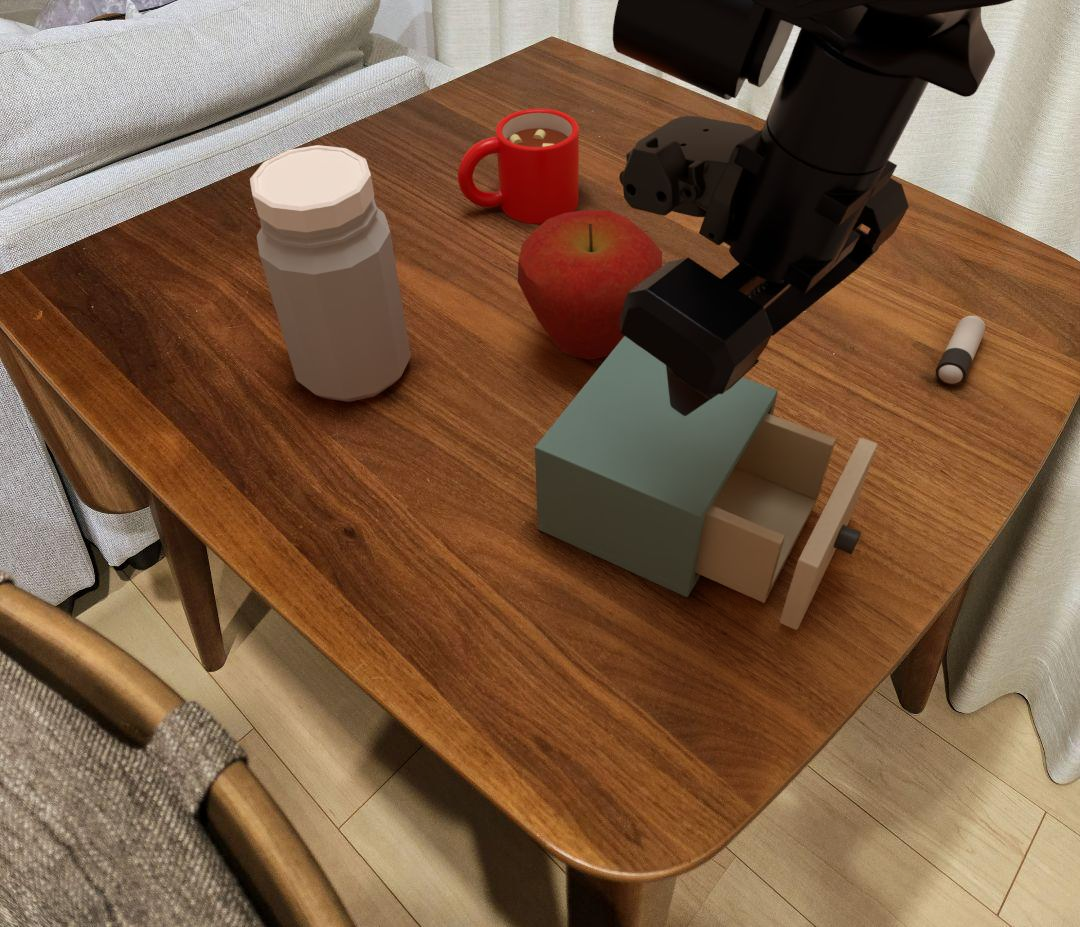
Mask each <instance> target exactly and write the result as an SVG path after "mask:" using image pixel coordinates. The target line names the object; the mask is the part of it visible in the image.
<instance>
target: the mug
mask: <svg viewBox="0 0 1080 927" xmlns="http://www.w3.org/2000/svg"><path fill="white" fill-rule="evenodd" d="M493 154H496V156H497V170H498V171H497V172H498V187H499V189H498V190H495V191H483V190H481V189H479V188H478V187H477V186H476V185H475V182H474V179H473V178H474V177H473V175H474V173H475V169H476V167H477V166H478V164H479V163H480V162H481V161H483V159H484V158H486V157H488V156H489V155H493ZM579 154H580V129H579V124H578V122H577V120H575V119H574V118H573V117H572V116H570V114H567V113H565V112H562V111H559V110H556V109H552V108H551V109H550V108H528V109H522V110H519V111H516V112H513V113H509V114H508V115H506V116H505V117H504V118H502V119H500V121H499V122H498V124H496V128H495V136H492V137H487V138H484V139H482V140H480V141H478V142H476V143H475V144H473V145H472V146H471V147H470V148H469V149H468V150H467V151H466V152H465V154H464V155H463V157H462V159H461V160H460V163H459V165H458V170H457V182H458V187H459V190H460V191H461V194H462V195H463V196H464V198H465V199H466V200H468V201H469V202H470V203H472V204H474V205H476V206H479V207H483V208H495V207H496V208H497V207H501V210H502V211H503V213H504V214H505V215H507V216H508V217H509V218H511V219H513V220H514V221H515V220H516V221H519V222H522V223H526V224H539V225H541V224H543V223H544V222H545V221H546V220H547V219H550V218H552V217H555V216H558V215H560V214H563V213H567V212H575V211H576V209H577V207H578V205H579V186H580V184H579V179H580V178H579V176H580V175H579V174H580V173H579V172H580V171H579V170H580V167H579V166H580V165H579V164H580V160H579V159H580V155H579Z"/></svg>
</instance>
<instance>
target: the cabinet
mask: <svg viewBox="0 0 1080 927" xmlns="http://www.w3.org/2000/svg"><path fill="white" fill-rule="evenodd" d="M778 393H779V390H778V389H776V388H773V387H770V386H768V385H765V384H762V383H759V382H756V381H754V380H751V379H749V378H745V377H742V378H741V379H740V380H739V381H738V382H737V383H736V384H735V385H734V386H733V387H731V388H730V389H729V390H727V391H725V392H724V393H723V394H718V395H717V396H715V397H714V398H712V399H711V400H709V401H708V402H706V403H705V404H703V405H702V406H700V407H699V408H697V409H696V410H694V411H693V412H692V413H690V414H689V415H687V416H683V415H682V414H680V413H679V412H677V411H676V410H675V409H673V408H672V407H671V405H670V398H669V389H668V380H667V370H666V365H665V364H664V363H662V362H661V361H659V360H658V359H657V358H655V357H654V356H652V355H651V354H650V353H648V352H647V351H645V350H644V349H642V348H641V347H640V346H638V345H637V344H635V343H634V342H633V341H631V340H630V339H628V338H627V337H625V336H624V337H623V339H622V340H621V341H620V342H619V343H618V345H617V346H616V347H615V348H614V350H613V351H612V352H611V353H610V355H609V356H608V357H605V359H604V361H603V362H602V363H601V365H599V367H598V368H597V370H596V371H595V372H594V373H593V374H592V376H591V377H590V378H589V379H588V380H587V381H586V382H585V384H584V385H583V387H582V388H581V389H580V390H579V391H578V392H577V394H576V395H575V397H574V398H573V399H572V400H571V402H570V403H569V404H568V405H567V407H566V408H565V409H564V410H563V412H562V413H561V414H560V415H559V416H558V418H557V419H556V420H555V421H554V423H553V424H552V425H551V426H550V428H549V429H548V430H547V431H546V433H545V434H544V435H543V436H542V437H541V439H540V440H539V441H538V443H537V444H535V446H534V464H535V488H536V489H535V490H536V491H535V492H536V493H535V494H536V512H537V513H536V516H537V530H538V531H540V532H543V533H544V534H547V535H550V536H552V537H553V538H556V539H558V540H560V541H562V542H564V543H567V544H569V545H571V546H573V547H575V548H578V549H580V550H582V551H584V552H586V553H589V554H591V555H593V556H595V557H597V558H599V559H602V560H604V561H606V562H609V563H610V564H613V565H615V566H617V567H619V568H621V569H624V570H626V571H629V572H630V573H633V574H635V575H636V576H639V577H641V578H643V579H646V580H648V581H650V582H652V583H654V584H657V585H659V586H661V587H663V588H665V589H667V590H670V591H672V592H674V593H676V594H679V595H680V596H683V597H685V598H688V597H689V596H690V594H691V593H692V591H693V589H694V587H695V586H696V584H697V582H698V581H699V579H700V577H701V575H700V574H698V573H695V570H696V564H697V558H698V553H699V547H700V541H701V535H702V529H703V523H704V517H705V515H706V513H707V512H708V510H709V508H710V507H711V505H712V504H713V502H714V500H715V499H716V497H717V495H718V494H719V492H720V490H721V489H722V487H723V485H724V484H725V482H726V480H727V479H728V477H729V476H730V474H731V472H732V471H733V469H734V467H735V466H736V464H737V462H738V461H739V459H740V457H741V456H742V454H743V452H744V451H745V449H746V448H747V446H748V444H749V443H750V441H751V439H752V438H753V436H754V434H755V433H756V431H757V429H758V428H759V426H760V424H761V423H762V421H763V420H764V418H765V416H766V415H767V413H768V414H771V415H773V416H774V411H775V407H776V402H777V398H778Z"/></svg>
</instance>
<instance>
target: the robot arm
mask: <svg viewBox="0 0 1080 927" xmlns="http://www.w3.org/2000/svg"><path fill="white" fill-rule="evenodd" d="M1012 1H1014V0H617V3H616V8H615V13H614V18H613V24H612V43H613V48H614V49H615V51H616V52H617V53H618V54H620V55H623V56H625V57H628V58H629V59H632V60H634V61H637V62H639V63H641V64H642V65H643V64H644V65H645V66H648V67H650V68H653V69H655V70H657V71H659V72H662V73H664V74H666V75H668V76H671V77H673V78H676V79H678V80H680V81H681V82H684V83H687V84H689V85H691V86H694V87H695V88H698V89H700V90H703V91H706V92H708V93H710V94H712V95H714V96H717V97H719V98H721V99H723V100H728V101H729V100H730V99H732V98H733V99H736V98H737V97H738V95H739V93H740V92H741V89H742V87H743V85H744V83H745V81H746V80H747V82H748V84H750V85H752V86H755V87H756V88H757V87H758V88H761V87H763V86H764V85H765V84H766V82H767V81H768V80H769V78H770V76H771V75H772V73H773V72H774V69H775V68H776V66H777V64H778V62H779V61H780V58H781V56H782V55H783V52H784V51H785V48H786V46H787V44H788V41H789V39H790V36H791V34H792V31H793V29H794V27H797V28H799V29H800V30H799V33H798V35H797V38H796V41H795V43H794V45H793V48H792V51H791V53H790V56H789V58H788V62H787V64H786V67H785V70H784V72H783V75H782V77H781V80H780V83H779V85H778V88H777V91H776V93H775V96H774V98H773V101H772V104H771V105H770V109H769V111H768V114H767V117H766V119H765V122H764V124H763V127H762V129H760V130H759V129H755V128H754V127H752V126H750V125H747V124H743V123H737V122H730V121H725V120H720V119H714V118H708V117H703V116H696V115H695V116H694V115H684V116H679V117H676V118H674V119H671V120H670V121H668V122H666V123H665V124H664V125H662V126H660V127H659V128H657V129H655V130H654V131H652V132H650V133H649V134H647V135H646V136H644V137H643V138H641V139H639V140H638V141H637V142H636V143H635V146H634V147H632V149H631V150H630V151H629V152H627V153H626V154H625V155H626V156H625V157H626V164H625V166H624V169H623V170H622V171H621V172H620V173H619V176H618V179H619V182H620V184H621V186H622V191H623V198H624V200H625V202H626V203H627V204H628V206H629V207H630V208H632V209H635V210H638V211H641V212H646V213H651V214H653V215H659V216H663V217H665V216H668V215H669V214H670V213H672V212H673V213H677V214H682V215H686V216H689V217H694V218H703V220H702V222H701V226H700V228H699V232H698V234H699V235H701V236H702V237H704V238H705V239H707V240H708V241H710V242H712V243H713V244H715V245H716V246H720V245H722V244H724V243H725V244H726V245H727V246H729V248H728V253H729V254H730V255H731V257H732V258H733V259H734V261H736V262H737V263H738V264H737V265H736V266H735V267H734V268H732V269H731V270H730V271H728V273H726V274H725V275H724V276H723V277H721V278H720V277H719V276H717V275H716V274H715V273H713V272H711V271H710V270H708V269H707V268H705V267H704V266H702V265H700V264H699V262H696V261H695V260H694V259H691V258H690V257H684V258H680V259H679V258H678V259H675V260H671V261H667V262H666V263H665V264H664V265H662V267H661V268H660V269H658V270H657V271H656V272H654V273H653V274H652V275H650V276H649V277H648V278H646V279H645V280H644V281H642V282H641V283H640V284H639V285H637V286H636V287H635V288H633V289H632V290H631V291H629V292H628V293H627V295H626V298H625V302H624V305H623V308H622V312H621V315H620V319H619V326H620V332H621V334H623V335H624V336H625V337H627V338H628V339H630V340H631V341H633V342H634V343H635V344H637V345H638V346H640V347H641V348H642V349H644V350H645V351H647V352H648V353H650V354H651V355H652V356H654V357H655V358H657V359H658V360H659V361H661V362H662V363H664V364H665V365H666V370H667V380H668V389H669V398H670V405H671V407H672V408H673V409H675V410H676V411H677V412H679V413H680V414H682V415H683V416H687V415H689V414H690V413H692V412H693V411H694V410H696V409H697V408H699V407H700V406H702V405H703V404H705V403H706V402H708V401H709V400H711V399H712V398H714V397H715V396H717V395H718V394H723V393H724V392H725V391H727V390H729V389H730V388H731V387H733V386H734V385H735V384H736V383H737V382H738V381H739V380H740V379H741V378H744V377H745V375H747V374H748V373H749V372H750V371H751V370H752V369H753V368H754V367H755V366H756V365H757V364H758V363H759V362H760V361H759V360H760V359H759V358H760V356H761V355H762V353H764V351H765V349H766V348H767V346H768V344H769V342H770V340H771V338H772V337H773V336H774V335H776V334H777V333H778V332H780V331H781V330H782V329H784V328H785V327H786V326H787V325H789V324H790V323H791V322H793V321H794V320H796V318H798V317H799V316H800V315H801V314H803V313H804V312H805V311H807V310H808V309H809V308H810V307H812V306H813V305H814V304H815V303H816V302H818V301H819V300H820V299H821V298H823V297H824V296H825V295H826V294H828V293H829V292H830V291H832V290H833V289H835V288H836V287H837V286H838V285H840V283H842V282H843V281H845V279H847V278H848V277H850V276H851V275H852V274H853V273H854V272H856V271H857V270H858V269H859V268H860V267H861V266H862V265H863V264H865V262H867V261H868V260H869V259H870V258H871V257H872V256H873V255H874V254H875V253H877V251H878V250H879V249H880V247H881V246H882V245H884V243H885V242H886V241H887V240H888V239H889V238H891V237H892V236H893V235H894V234H895V232H896V230H897V228H898V226H899V225H900V223H901V221H902V220H903V218H904V216H905V214H906V212H907V211H908V210H909V207H910V206H909V202H908V199H907V196H906V193H905V190H904V187H903V184H902V183H900V182H898V181H896V180H895V179H893V178H892V176H893V175H894V172H895V171H896V168H898V167H897V166H898V165H897V164H896V163H894V162H893V161H891V160H890V158H891V156H892V154H893V152H894V151H895V149H896V147H897V144H898V143H899V142H900V139H901V137H902V135H903V133H904V131H905V129H906V127H907V125H908V123H909V121H910V119H911V118H912V116H913V113H914V112H915V110H916V108H917V106H918V104H919V102H920V100H921V98H922V96H923V94H924V93H925V91H926V88H927V87H928V85H929V84H930V85H931V84H932V85H933V86H936V87H939V88H941V89H944V90H946V91H948V92H951V93H953V94H956V95H958V96H960V97H963V98H968V97H972V96H973V95H975V94H976V93H977V91H978V89H979V88H980V85H981V83H982V82H983V80H984V78H985V76H986V74H987V72H988V70H989V68H990V66H991V64H992V62H993V60H994V58H995V57H996V50H995V47H994V45H993V44H992V41H991V39H990V38H989V35H988V32H987V31H986V30H985V28H984V24H983V22H982V21H983V20H982V8H984V7H991V6H992V7H993V6H997V5H998V6H999V5H1002V4H1007V3H1009V2H1012ZM862 225H863V226H865V227H866V228H869V231H868V233H867V232H864V231H863V230H861V227H862Z"/></svg>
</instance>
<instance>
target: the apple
mask: <svg viewBox="0 0 1080 927" xmlns="http://www.w3.org/2000/svg"><path fill="white" fill-rule="evenodd" d="M517 263H518V265H517V284H518V285H519V288H520V289H521V291H522V294H523V295H524V297H525V300H526V302H527V303H528V306H529V307H530V310H531V311H532V312H533V314H534V316H535V317H536V319H537V321H538V323H539V324H540V325H541V327H542V328H543V330H544V331H545V333H546V334H547V335H548V337H549V339H550V340H551V342H552V344H554V345H555V346H556V347H557V348H558V349H559V350H560V351H562V352H563V353H564V354H567V355H570V356H572V357H574V358H578V359H585V360H597V359H602V358H607V357H608V356H609V355H610V353H611V352H612V351H613V350H614V348H615V347H616V346H617V345H618V343H619V342H620V341H621V340H622V339H623V337H624V335H623V334H621V332H620V326H619V319H620V315H621V312H622V308H623V305H624V302H625V298H626V295H627V293H628V292H629V291H631V290H632V289H633V288H635V287H636V286H637V285H639V284H640V283H641V282H642V281H644V280H645V279H646V278H648V277H649V276H650V275H652V274H653V273H654V272H656V271H657V270H658V269H660V268H661V267H662V266H663V251H662V250H661V249H660V247H659V246H658V245H657V243H656V242H655V241H654V240H653V238H652V237H651V236H649V235H648V234H647V233H646V232H645V231H644V230H643V229H642V228H641V227H639V226H638V225H637V224H635V223H634V222H633V221H631V219H629V218H628V217H626V216H624V215H621V214H618V213H615V212H613V211H611V210H607V209H606V210H605V209H604V210H603V209H601V210H600V209H584V210H574V211H573V212H567V213H563V214H560V215H558V216H555V217H552V218H550V219H547V220H546V221H545V222H544V223H540V224H539V225H538V227H536V228H535V230H534V231H532V232H531V233H530V234H529V236H528V237H526V239H525V240H524V241H523V242H522V244H521V248H520V252H519V256H518V262H517Z"/></svg>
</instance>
